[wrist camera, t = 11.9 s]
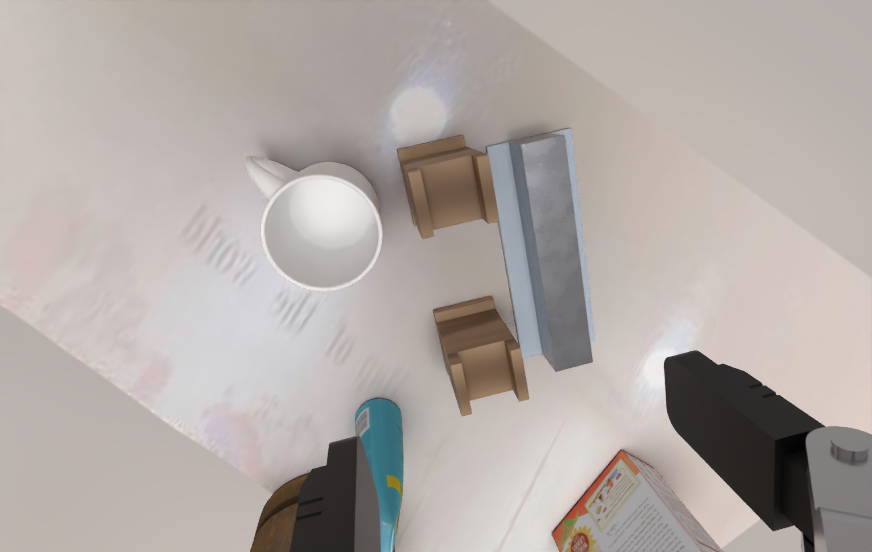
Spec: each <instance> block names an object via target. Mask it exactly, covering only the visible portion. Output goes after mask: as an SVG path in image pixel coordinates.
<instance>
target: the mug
mask: <svg viewBox="0 0 872 552" xmlns="http://www.w3.org/2000/svg"><path fill="white" fill-rule="evenodd" d="M244 164H245V168H246V170H247V172H248V174H249V176H250V177H251V179H252V180H253V182H254V183H255V184H256V186H257V187H258V188H259V190H260V191H261V192H262V193H263V195H264V196H265V197H266V199H267V200H268V204H267V206H266V208H265V210H264V213H263V216H262V220H261V229H260V233H261V241H262V246H263V249H264V252H265V254H266V256H267V258H268V260H269V262H270V263H271V264H272V266H273V267H274V268H275V269H276V271H277V272H278V273H279V274H280V275H282V276H283V277H284V278H285V279H287V280H288V281H290V282H291V283H293V284H295V285H297V286H299V287H302V288H305V289H309V290H314V291H333V290H338V289H342V288H345V287H348V286H350V285H352V284H354V283H355V282H357V281H359V280H360V279H361V278H363V277H364V276H365V275H366V274H367V273H368V272H369V271H370V269H371V268H372V267H373V265H374V264H375V262H376V260H377V258H378V256H379V253H380V250H381V246H382V239H383V231H382V223H381V216H380V208H379V202H378V199H377V195H376V193H375V191H374V189H373V187H372V185H371V184H370V182H369V181H368V180H367V179H366V178H365V177H364V176H363V175H362V174H361V173H360V172H358V171H357V170H355V169H354V168H352V167H350V166H347V165H345V164H341V163H336V162H322V163H317V164H313V165H311V166H309V167H306V168H305V169H303V170H301V171H299V172H297V171H295V170H293V169H290V168H288V167H286V166H284V165H282V164H280V163H277V162H275V161H272V160H269V159H265V158H262V157H257V156H248V157H246V158H245V161H244Z"/></svg>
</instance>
